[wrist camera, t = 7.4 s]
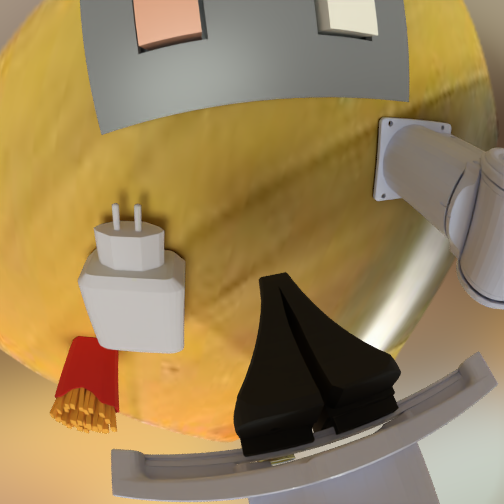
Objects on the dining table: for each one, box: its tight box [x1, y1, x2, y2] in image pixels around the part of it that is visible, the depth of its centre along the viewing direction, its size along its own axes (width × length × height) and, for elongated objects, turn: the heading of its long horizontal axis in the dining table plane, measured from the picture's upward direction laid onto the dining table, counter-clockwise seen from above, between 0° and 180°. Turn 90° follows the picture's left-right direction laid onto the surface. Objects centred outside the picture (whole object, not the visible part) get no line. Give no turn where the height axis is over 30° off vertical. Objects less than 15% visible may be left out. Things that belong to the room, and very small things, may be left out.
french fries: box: [50, 336, 119, 434], centre depth 25 cm, size 8×4×12 cm, turn 81°
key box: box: [80, 0, 409, 135], centre depth 12 cm, size 20×12×4 cm, turn 96°
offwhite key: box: [314, 0, 378, 38], centre depth 11 cm, size 3×3×3 cm
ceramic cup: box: [257, 454, 295, 465], centre depth 61 cm, size 13×10×10 cm
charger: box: [78, 203, 185, 353], centre depth 22 cm, size 5×9×15 cm
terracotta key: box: [133, 0, 202, 51], centre depth 10 cm, size 3×3×3 cm
